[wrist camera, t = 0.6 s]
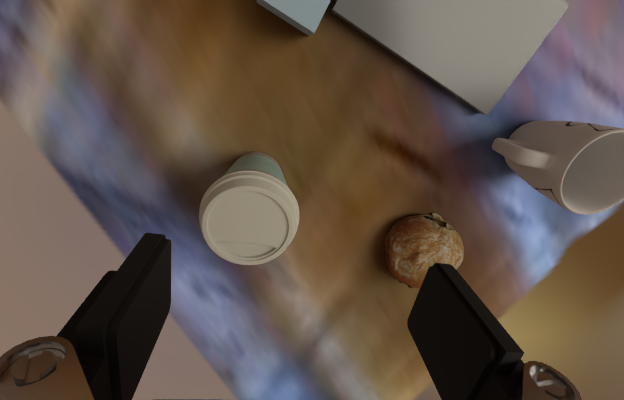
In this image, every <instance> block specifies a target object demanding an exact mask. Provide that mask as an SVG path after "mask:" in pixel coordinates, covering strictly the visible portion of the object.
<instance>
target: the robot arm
mask: <svg viewBox="0 0 624 400" xmlns="http://www.w3.org/2000/svg"><path fill="white" fill-rule="evenodd" d="M170 304H171V240H168V239H166V238H165V235H162V234H152V233H145V234H144V236H143V237H142V238H141V240H140V241H139V242H138V244H137V245H136V246H135V248H134V249H133V250H132V252H131V253H130V254H129V256H128V257H127V258H126V260H125V261H124V262H123V264H122V265H121V266H120V268H119V269H118V271H108V272H107V273H106V274H105V275H104V276H103V278H102V279H101V280H100V281H99V283H98V284H97V285H96V287H95V288H94V289H93V291H92V292H91V293H90V294H89V295H88V297H87V298H86V299H85V301H84V302H83V303H82V304H81V306H80V307H79V308H78V310H77V311H76V312H75V313H74V315H73V316H72V317H71V318H70V320H69V321H68V322H67V324H66V325H65V326H64V327H63V329H62V330H61V331H60V332H59V334H58V335H57V336H48V337H39V338H35V339H32V340H28V341H26V342H24V343H22V344H19V345H17V346H15V347H13V348H12V349H10V350H9V351H7V352H6V353H5V354H3V355H2V356H1V357H0V400H132V398H133V395H134V393H135V391H136V388H137V386H138V383H139V381H140V379H141V377H142V374H143V372H144V369H145V367H146V365H147V362H148V360H149V358H150V355H151V353H152V350H153V348H154V346H155V343H156V341H157V339H158V337H159V334H160V332H161V329H162V327H163V324H164V322H165V320H166V318H167V315H168V313H169V310H170ZM408 329H409V331H410V333H411V335H412V337H413V340H414V342H415V344H416V346H417V348H418V350H419V352H420V354H421V357H422V359H423V361H424V363H425V365H426V367H427V369H428V371H429V374H430V376H431V378H432V380H433V382H434V384H435V386H436V388H437V391H438V393H439V395H440V397H441V399H442V400H582V399H581V396H580V393H579V391H578V390H577V388H576V387H575V385H574V384H573V383H572V382H570V380H569V379H568V378H567V377H565V376H564V375H563V374H562V373H560V372H559V371H558V370H556V369H554V368H553V367H551V366H549V365H547V364H544V363H542V362H538V361H528V362H527V363H525V364H524V363H523V361H522V360H521V357H522V356H523V354H524V352H523V351H522V350H521V349H520V347H519V346H518V345H517V344H516V342H515V341H514V340H513V339H512V338H511V336H510V335H509V334H508V333H507V332H506V330H505V329H504V328H503V327H502V325H501V324H500V323H499V322H498V320H497V319H496V318H495V317H494V316H493V314H492V313H491V312H490V311H489V309H488V308H487V307H486V306H485V305H484V303H483V302H482V301H481V300H480V298H479V297H478V296H477V295H476V294H475V292H474V291H473V290H472V289H471V287H470V286H469V285H468V284H467V283H466V281H465V280H464V279H463V278H462V276H461V275H460V274H459V273H458V272H457V270H456V269H455V268H454V267H453V266H452V265H451V264H443V263H434V264H433V266H430V267H429V268H428V270H427V273H426V275H425V278H424V280H423V283H422V285H421V288H420V290H419V293H418V295H417V298H416V300H415V303H414V305H413V308H412V310H411V313H410V315H409V318H408ZM154 400H181V399H154ZM182 400H187V399H182ZM188 400H194V399H188ZM195 400H207V399H195ZM208 400H217V399H208Z"/></svg>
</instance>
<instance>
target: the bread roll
mask: <svg viewBox="0 0 624 400" xmlns="http://www.w3.org/2000/svg"><path fill="white" fill-rule="evenodd" d="M463 256H464V246H463V243H462V240H461V237H460V235H459V234H458V233H457V232H456V230H455V229H454V228H453V227H452V226H451V225H449V224H448V223H447V221H444V220H443V219H442V217H441V216H440V215H438V214H436V213H432V214H431V215H415V216H409V217H405V218H403V219H401V220H399V221H398V222H397V223H395V224H394V225H393V227H392V228H391V229H390V230H389V232H388V233H387V235H386V238H385V257H386V262H387V266H388V269H389V271H390V272H391V274H392V275H393V276H394V277H395V278H396V279H397V280H398V281H399V282H401V283H404V284H406V285H408V287H410V288H421V285H422V283H423V280H424V278H425V275H426V273H427V270H428V268H429V267H430V266H433V264H434V263H443V264H451V265H452V266H453V267H454V268H455V269H457V268H458V267H459V266H460V265H461V263H462V261H463Z"/></svg>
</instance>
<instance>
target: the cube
mask: <svg viewBox="0 0 624 400" xmlns="http://www.w3.org/2000/svg"><path fill="white" fill-rule="evenodd" d="M256 1H257V3H258V4H259V5H261V6H262V7H264V8H266V9H267V10H269V11H270V12H272V13H273V14H275V15H277V16H278V17H280V18H281V19H283V20H284V21H286V22H287V23H289V24H291V25H292V26H294V27H295V28H297V29H298V30H300V31H302V32H303V33H305V34H306V35H308V36H310V35H312V34H314V33H315V31H316V29H317V27H318V25H319V23H320V21H321V19H322V17H323V15H324V13H325V11H326V9H327V7H328V5H329V3H330V1H331V0H256Z"/></svg>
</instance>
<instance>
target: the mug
mask: <svg viewBox="0 0 624 400" xmlns="http://www.w3.org/2000/svg"><path fill="white" fill-rule="evenodd" d="M492 149H493V150H494V151H496V152H498V153H499V154H501V155H503V156H504V157H505V161H506V163H507V165H508V166H509V167H510V168H511V169H512V170H513V171H514V172H515V173H516V174H518V175H519V176H520V177H521V178H522V179H523V180H525V181H526V182H527V183H528V184H529V185H531V186H532V187H533V188H534V189H536V190H537V191H539V192H540V193H542V194H543V195H545V196H546V197H548V198H549V199H551V200H552V201H554V202H556V203H557V204H559V205H560V206H562V207H563V208H565V209H567V210H569V211H571V212H574V213H577V214H594V213H598V212H602V211H604V210H607V209H609V208H611V207H613V206H614V205H616V204H618V203H619V202H621V201H622V200H623V199H624V129H622V128H616V127H610V126H603V125H596V124H590V123H582V122H571V121H532V122H528V123H526V124H524V125H522V126H520V127H519V128H518V129H516V130H515V131H514V132H513V133H512V134H511V136H510V137H509V139H504V138H496V139H495V140H494V142H493V144H492Z"/></svg>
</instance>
